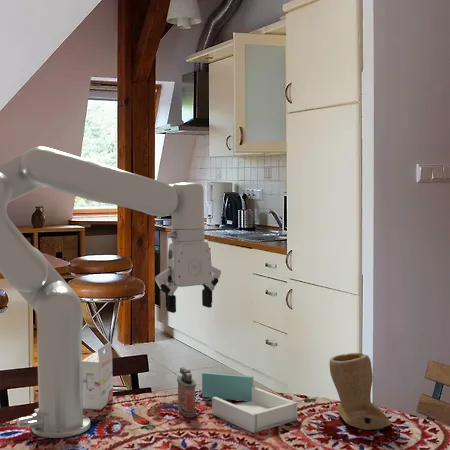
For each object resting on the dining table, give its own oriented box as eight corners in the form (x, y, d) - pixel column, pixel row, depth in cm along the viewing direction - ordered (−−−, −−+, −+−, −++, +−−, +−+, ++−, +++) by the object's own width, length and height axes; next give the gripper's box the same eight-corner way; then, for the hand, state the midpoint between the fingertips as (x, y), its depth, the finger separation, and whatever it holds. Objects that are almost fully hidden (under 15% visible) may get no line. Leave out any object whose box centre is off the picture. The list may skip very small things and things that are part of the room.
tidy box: (253, 433, 150) (253, 414, 149) (212, 414, 162) (212, 397, 161) (297, 419, 158) (297, 402, 157) (254, 402, 169) (254, 386, 169)
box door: (202, 396, 173) (202, 373, 173) (203, 395, 174) (203, 372, 174) (252, 401, 170) (252, 377, 169) (253, 400, 170) (253, 376, 170)
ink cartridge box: (94, 397, 174) (93, 340, 173) (113, 398, 173) (112, 340, 172) (81, 408, 166) (80, 348, 165) (100, 410, 165) (99, 349, 164)
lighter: (198, 415, 161) (198, 373, 160) (185, 417, 159) (184, 375, 159) (187, 405, 168) (187, 364, 167) (174, 406, 167) (174, 366, 166)
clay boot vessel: (325, 409, 165) (325, 347, 164) (374, 409, 165) (375, 347, 164) (336, 433, 150) (337, 365, 148) (391, 432, 150) (392, 364, 149)
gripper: (163, 239, 152) (164, 316, 153) (228, 234, 162) (229, 307, 163) (147, 237, 158) (148, 311, 159) (210, 232, 168) (211, 302, 169)
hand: (189, 309), depth 161 cm, fingers open, 9 cm apart
